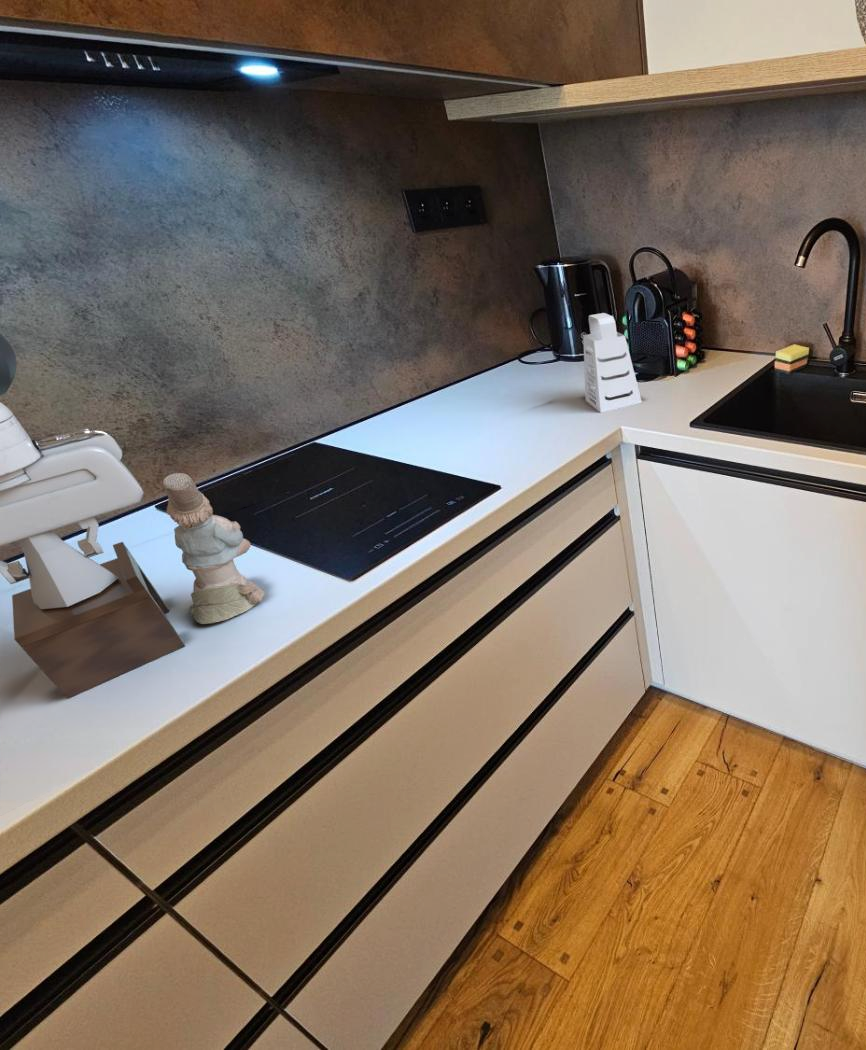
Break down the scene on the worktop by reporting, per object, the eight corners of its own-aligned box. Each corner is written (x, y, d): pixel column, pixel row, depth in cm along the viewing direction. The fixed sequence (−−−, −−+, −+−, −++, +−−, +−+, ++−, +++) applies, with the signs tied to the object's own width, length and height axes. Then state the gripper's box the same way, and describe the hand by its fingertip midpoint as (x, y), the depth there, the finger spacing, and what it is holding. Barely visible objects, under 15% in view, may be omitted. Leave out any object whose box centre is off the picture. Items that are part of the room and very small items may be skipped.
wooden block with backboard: (67, 699, 66) (2, 626, 60) (60, 651, 73) (1, 582, 68) (185, 646, 73) (136, 576, 67) (167, 607, 80) (122, 541, 74)
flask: (19, 607, 66) (-44, 533, 61) (89, 570, 72) (37, 499, 67) (65, 614, 64) (4, 538, 59) (133, 576, 70) (82, 503, 65)
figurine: (261, 615, 77) (182, 480, 67) (187, 632, 75) (93, 495, 64) (279, 578, 84) (210, 451, 74) (211, 593, 82) (131, 464, 72)
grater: (600, 412, 135) (586, 323, 125) (585, 400, 143) (571, 316, 133) (642, 402, 139) (631, 315, 129) (625, 391, 147) (614, 308, 137)
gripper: (102, 417, 67) (166, 520, 75) (-181, 483, 55) (-71, 599, 62) (108, 429, 64) (175, 536, 71) (-193, 503, 51) (-75, 623, 58)
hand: (58, 566), depth 66 cm, fingers closed on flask, 5 cm apart
